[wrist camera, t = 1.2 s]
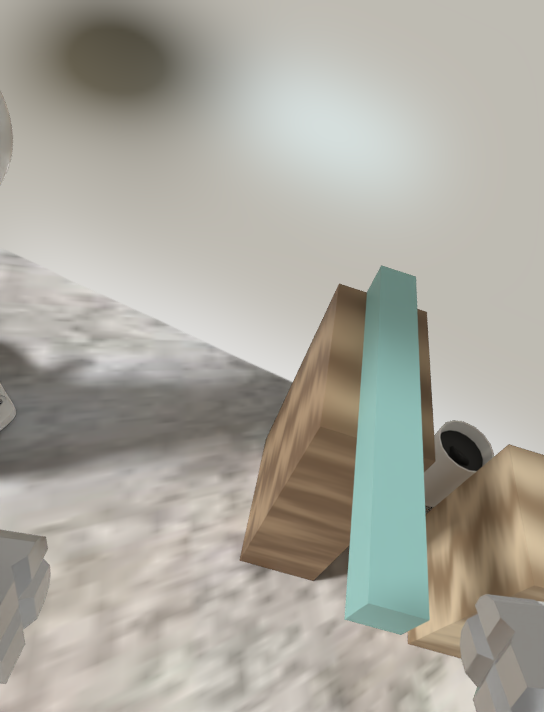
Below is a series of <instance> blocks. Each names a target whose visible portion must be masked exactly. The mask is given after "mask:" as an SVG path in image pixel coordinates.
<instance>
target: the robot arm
mask: <svg viewBox="0 0 544 712" xmlns="http://www.w3.org/2000/svg"><path fill="white" fill-rule="evenodd" d="M12 150H13V134H12V125H11V120H10V115H9V112H8V108H7V105H6V102H5V100H4V97H3V95H2V93H1V91H0V185H1V184H2V182H3V180H4V178H5V176H6V174H7V171H8V168H9V165H10V161H11V156H12ZM0 403H2V404H1V405H0V431H1V430H2V429H3V428H4V427H5V426H7V425H8V424H9V423H10V422H11V421H12V420H13V419H14V417H15V415H16V409H15V407H14V405H13V403H12V401H11V400H10V398H9V396H8V395H7V393H6V391H5V390H4V388H3V387H2V385H1V383H0ZM47 550H48V546H47V540H46V537H45V536H38V535H32V534H25V533H19V532H12V531H6V530H0V683H2V684H6V683H7V681H8V679H9V677H10V675H11V673H12V671H13V668H14V666H15V664H16V662H17V660H18V658H19V656H20V654H21V652H22V650H23V647H24V645H25V640H24V633H23V629H24V628H26V627H27V626H28V625H30V624H31V623H32V622H34V621H35V620H36V619H37V618H38V616H39V613H40V611H41V609H42V607H43V604H44V602H45V599H46V595H47V592H48V588H49V583H50V565H49V564H48V563H47V562H46V561H45V560H44V559H43V558H44V556H45V554H46V552H47ZM475 607H476V610H477V613H478V614H476V615H474V616H472V617H470V618H468V619H467V620H466V622H465V624H464V626H463V628H462V630H461V637H460V652H461V659H462V663H463V666H464V670H465V673H466V674H467V675H468V677H469V678H470V679H471V680H472V681H473V682H474V684H475V685H476V686H477V689H476V692H475V695H474V698H473V701H474V705H475V708H476V712H544V602H541V601H536V600H532V599H524V598H515V597H507V596H498V595H489V594H485V595H483V596H481V597H480V598H479V599H478V601H477V603H476V604H475Z"/></svg>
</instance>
